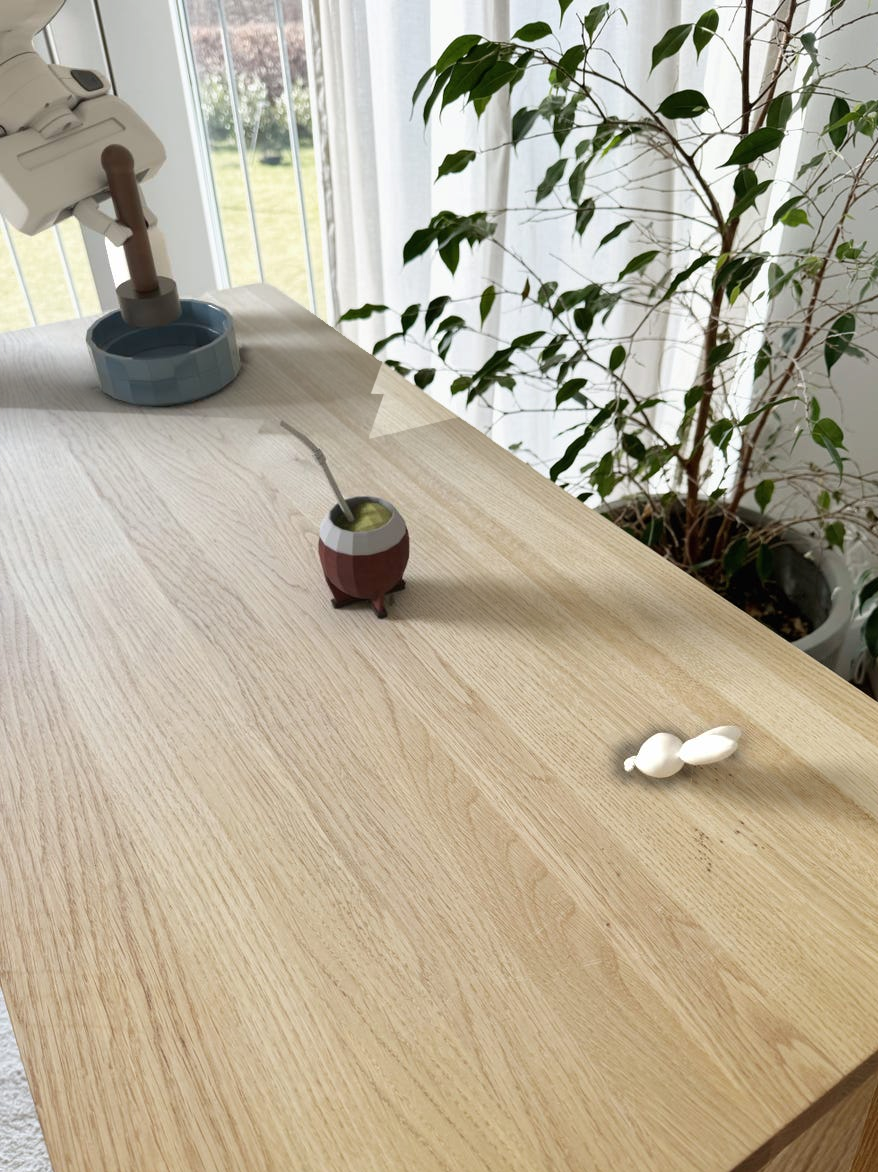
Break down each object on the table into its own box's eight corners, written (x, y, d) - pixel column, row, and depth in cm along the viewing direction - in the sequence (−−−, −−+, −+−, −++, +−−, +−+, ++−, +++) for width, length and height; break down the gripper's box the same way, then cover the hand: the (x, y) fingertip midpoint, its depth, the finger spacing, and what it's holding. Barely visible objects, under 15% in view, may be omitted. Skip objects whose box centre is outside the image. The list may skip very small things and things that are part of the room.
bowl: (77, 406, 105) (62, 357, 102) (128, 342, 117) (117, 296, 113) (218, 412, 104) (209, 363, 100) (256, 347, 115) (249, 301, 112)
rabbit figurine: (626, 735, 70) (739, 705, 67) (644, 788, 70) (757, 761, 67) (608, 754, 64) (730, 723, 62) (626, 812, 64) (749, 783, 62)
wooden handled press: (113, 326, 102) (69, 153, 91) (135, 302, 107) (95, 134, 96) (170, 329, 102) (133, 155, 91) (189, 304, 106) (156, 136, 95)
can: (116, 335, 118) (89, 231, 110) (142, 313, 123) (119, 211, 115) (166, 341, 117) (143, 236, 109) (191, 318, 121) (171, 216, 114)
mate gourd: (425, 608, 80) (417, 444, 70) (332, 636, 78) (310, 470, 68) (391, 558, 85) (379, 397, 75) (302, 583, 83) (277, 420, 73)
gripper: (-42, 119, 86) (81, 251, 89) (111, 67, 100) (212, 182, 103) (-63, 168, 90) (55, 292, 93) (86, 111, 104) (184, 221, 108)
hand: (138, 234), depth 99 cm, fingers closed on wooden handled press, 2 cm apart
